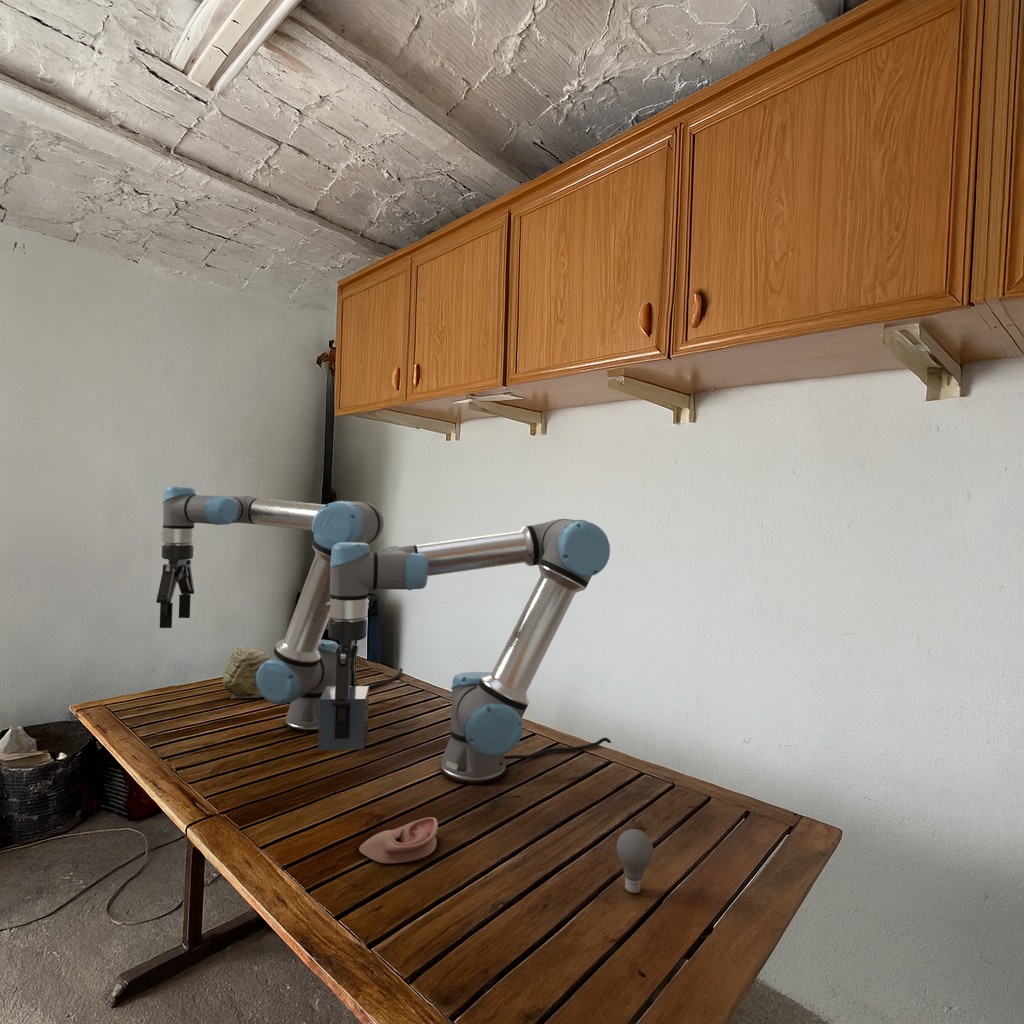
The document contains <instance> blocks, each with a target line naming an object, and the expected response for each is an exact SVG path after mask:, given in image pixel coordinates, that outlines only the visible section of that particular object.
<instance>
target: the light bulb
mask: <svg viewBox="0 0 1024 1024" xmlns="http://www.w3.org/2000/svg"><path fill="white" fill-rule="evenodd" d="M615 849H616V854H617V857H618V859H619V861H620V863H621V865H622V867H623V873H624V874H623V875H624V876H625V878H624V888H625V890H627V891H628V892H630V893H634V894H635V893H639V892H640V891H641V889H642V887H641V886H642V879H643V877H644V875H645V871H646V868H647V867H648V866H649V864H650V863H651V861H652V859H653V855H654V847H653V843H652V841H651V838H649V836H648V835H647V834H646V833H645V832H643V831H642V830H641V829H636V828H629V829H627V830H625V831H623V832H622V833H621V834H620V835H619V837H618V839H617V841H616V847H615Z"/></svg>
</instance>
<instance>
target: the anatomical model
mask: <svg viewBox="0 0 1024 1024" xmlns="http://www.w3.org/2000/svg"><path fill="white" fill-rule="evenodd" d="M438 830H439V822H438V819H437V818H436V817H434V816H428V817H423V818H419V819H417V820H414V821H410V822H409V823H407V824H404V825H401V826H398V827H397V828H395V829H388V830H383V831H381V832H378V833H376V834H374V835H372V836H371V837H369V838H368V839H366V840H365V841H364V842H363V843H362V844H361V845H360V846H359V848H358V850H359V852H360V853H361V854H362V855H364V857H366V858H368V859H369V860H372V861H374V862H377V863H380V864H399V863H400V864H401V863H409V862H413V861H417V860H420V859H422V858H426V857H427V856H429V855H431V854H432V853H433V852H435V850H436V847H437V837H436V836H437V834H438Z"/></svg>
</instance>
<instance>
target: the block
mask: <svg viewBox="0 0 1024 1024" xmlns="http://www.w3.org/2000/svg"><path fill="white" fill-rule="evenodd" d="M369 686H370V685H359V686H350V698H349V702H350V729H349V738H343V739H335V710H336V706H332V703H334V701H335V687H336V686H326V688H325V690H324V692H323V694H322V696H321V698H320V704H319V731H318V741H317V742H318V746H317V747H318V748H317V750H318V751H349V750H350V751H351V750H352V751H353V750H365V745H366V743H367V742H366V741H367V738H368V733H369V732H368V731H369V729H368V728H369V702H370V701H369V697H370V696H369V695H370V689H369ZM339 700H340V699H339Z"/></svg>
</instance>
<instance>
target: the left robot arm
mask: <svg viewBox="0 0 1024 1024" xmlns="http://www.w3.org/2000/svg"><path fill="white" fill-rule="evenodd" d="M162 517H163V518H162V523H163V524H162V531H160V534H161V535H162V540H161V541H162V543H163V544H162V546H161V559H163V560H168V563H164V564H162V573H161V578H160V582H159V586H158V592H157V596H156V600H155V602H156V603H157V604H160V605H159V629H172V628H173V608H174V607H173V605H174V604H173V602H172V600H173V596H174V593H175V590H176V587H177V585H178V589H179V591H180V594H179V596H178V600H179V601H178V619H190V618H191V597H192V596H191V595H194V594H195V585H194V579H193V573H192V561H191V559H193V558H194V545H193V544H194V542H195V524H206V525H208V524H209V525H215V526H219V525H220V526H225V525H231V524H249V525H260V526H268V527H277V528H285V529H294V530H302V531H310V532H311V533H312V534H313V539H314V540H313V543H312V546H311V547H312V549H313V551H314V552H315V555H314V558H313V561H312V563H311V566H310V569H309V572H308V574H307V577H306V579H305V582H304V585H303V588H302V589H301V593H300V596H299V598H298V601H297V604H296V607H295V609H294V612H293V615H292V617H291V620H290V623H289V626H288V628H287V632H286V634H285V637H284V638H283V639H281V640H279V641H277V642H276V644H275V646H274V648H273V651H272V653H271V657H270V658H271V659H270V660H268V661H266V662H264V663H263V664H262V665H261V666H260V668H259V669H258V672H257V676H256V682H257V687H258V688H259V690H260V693H261V694H262V696H263V697H262V698H264V699H265V700H266V701H267V702H269V703H271V704H274V705H281V706H282V705H286V704H289V705H288V711H287V713H286V715H285V726H286V728H287V729H289V730H291V731H294V732H295V731H296V732H301V733H316V732H318V733H319V704H320V698H321V696H322V694H323V692H324V690H325V688H326V686H336V663H337V658H336V649H338V646H339V643H337V641H335V640H331V639H322V637H323V635H324V632H325V630H326V628H327V624H328V623H329V620H330V618H331V617H330V616H329V612H330V607H327V606H326V604H327V602H330V564H331V551H332V547H333V546H334V545H335V544H336V543H341V542H357V543H366V544H368V545H370V544H372V543H374V542H375V541H377V540H378V539H379V537H380V536H381V534H382V533H383V529H384V525H385V523H384V516H383V515H382V512H381V511H380V510H379V508H378V507H376V506H375V505H374V504H372V503H370V502H367V501H347V500H337V501H336V500H335V501H334V502H330V503H327V504H320V503H312V502H304V501H303V502H301V501H291V500H283V499H271V498H262V497H255V496H250V495H249V496H248V495H243V496H233V495H202V494H201V495H199V494H196V489H195V487H189V486H188V487H187V486H167V487H165V489H164V493H163V501H162ZM402 672H404V670H403V668H402V667H401V668H399V671H398V673H397V674H396V675H395V676H393V677H390V678H388V679H386V680H383V681H380V682H377V683H374V684H371V685H368V686H369V690H370V689H372V688H375V687H378V686H381V685H384V684H387V683H389V682H392V681H394V680H396V679H398V678H399V677H400V676H401V675H402Z"/></svg>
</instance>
